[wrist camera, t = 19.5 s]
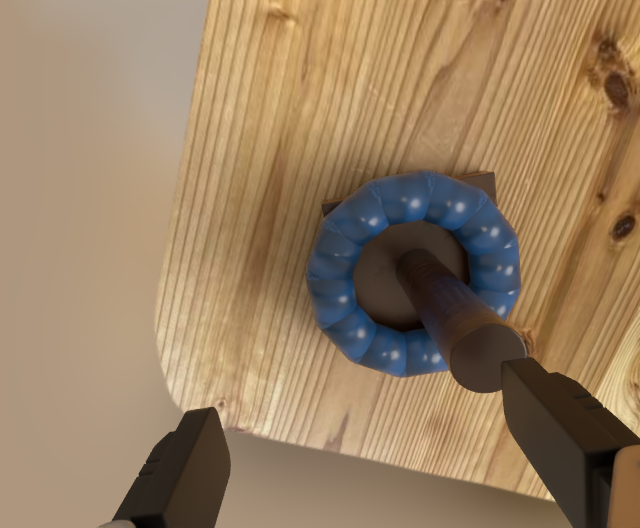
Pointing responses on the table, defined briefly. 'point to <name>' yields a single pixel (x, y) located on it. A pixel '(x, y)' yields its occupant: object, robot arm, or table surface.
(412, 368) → the blue segmented ring
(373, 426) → the table surface
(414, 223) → the stand
